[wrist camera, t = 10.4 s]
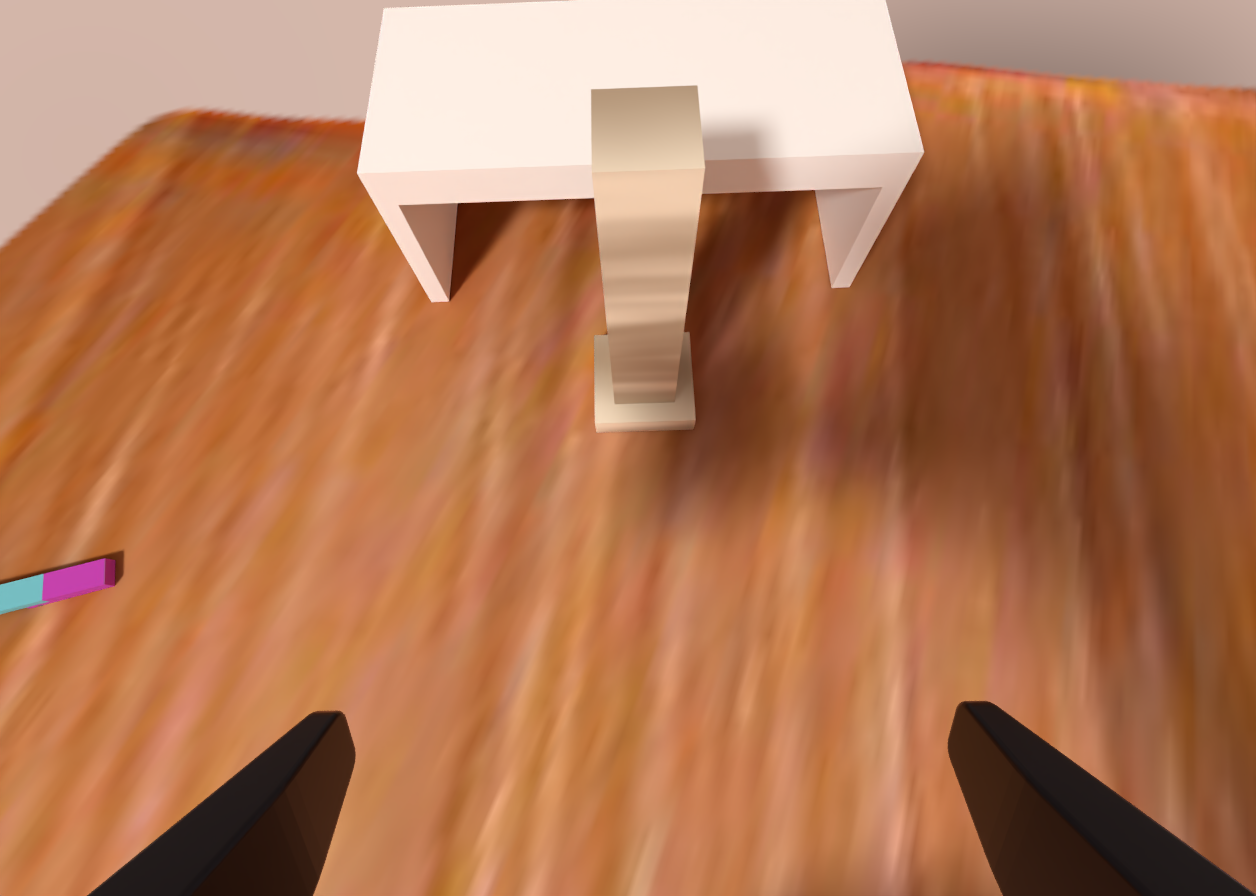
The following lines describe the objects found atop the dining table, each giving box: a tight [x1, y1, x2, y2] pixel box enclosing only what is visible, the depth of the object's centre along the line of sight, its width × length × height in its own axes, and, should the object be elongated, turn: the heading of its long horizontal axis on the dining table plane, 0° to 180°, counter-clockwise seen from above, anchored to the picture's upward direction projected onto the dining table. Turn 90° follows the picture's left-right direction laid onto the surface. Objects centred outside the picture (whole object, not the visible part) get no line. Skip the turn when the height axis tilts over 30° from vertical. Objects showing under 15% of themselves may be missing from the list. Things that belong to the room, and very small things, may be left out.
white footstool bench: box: [357, 0, 924, 302], centre depth 25 cm, size 8×19×8 cm, turn 92°
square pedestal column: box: [591, 85, 705, 433], centre depth 21 cm, size 16×7×13 cm, turn 2°
